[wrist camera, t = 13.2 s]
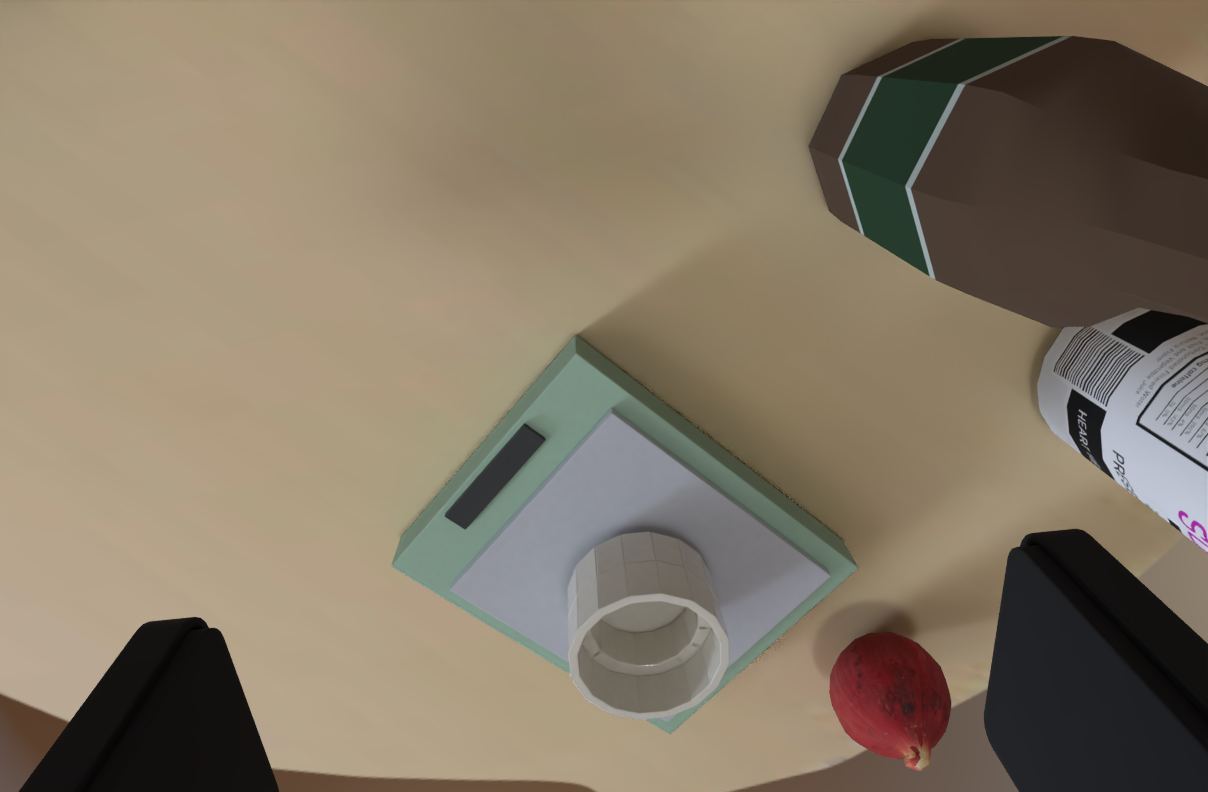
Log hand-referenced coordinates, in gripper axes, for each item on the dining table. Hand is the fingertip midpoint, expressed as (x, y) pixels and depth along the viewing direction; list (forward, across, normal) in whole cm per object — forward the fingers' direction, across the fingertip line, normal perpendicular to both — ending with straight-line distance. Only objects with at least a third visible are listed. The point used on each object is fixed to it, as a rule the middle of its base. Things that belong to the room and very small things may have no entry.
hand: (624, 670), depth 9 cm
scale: (+26, -1, +16) cm, 31 cm away
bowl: (+23, -1, +17) cm, 29 cm away
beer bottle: (+26, -13, -2) cm, 30 cm away
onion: (+26, -13, +25) cm, 39 cm away
